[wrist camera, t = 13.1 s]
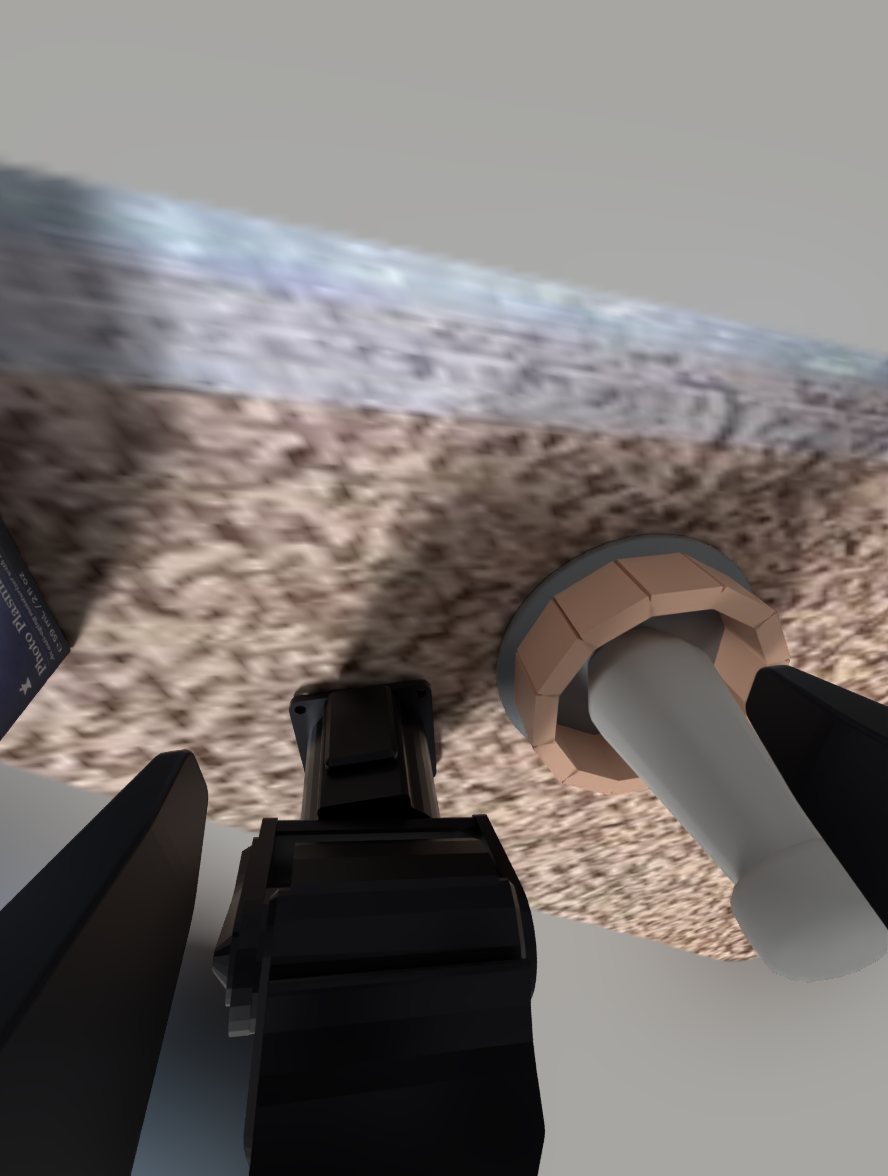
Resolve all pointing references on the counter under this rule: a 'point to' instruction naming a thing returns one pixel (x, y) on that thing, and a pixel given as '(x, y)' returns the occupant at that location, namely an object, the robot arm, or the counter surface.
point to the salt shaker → (732, 804)
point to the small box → (23, 636)
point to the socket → (608, 609)
